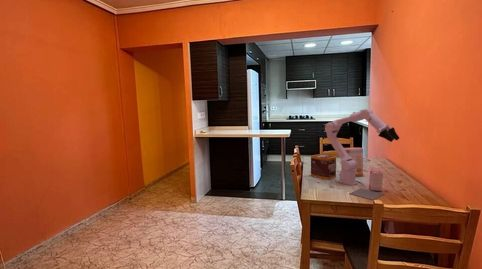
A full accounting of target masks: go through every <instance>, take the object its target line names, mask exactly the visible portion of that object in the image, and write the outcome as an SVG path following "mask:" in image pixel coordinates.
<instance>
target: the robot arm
mask: <svg viewBox="0 0 482 269" xmlns="http://www.w3.org/2000/svg"><path fill="white" fill-rule="evenodd" d="M363 120H366V122H367V123H369V125H370V126H372V127H373V128H374V129H375V130H376V132H377V134H378V135H377V137H381V138H383V139H385V140H386V141H388V142H390V143H391V142H393V141H394V140H395V141H398V140H399V139H400V136H399V135H398V134H397V132H396V129H395V128H394V127H391V126H390V124H388V123H387V124H386V123H385V122H384V121H382V120H381V119H380V118H379V117H378V116H377V115H375V113H374V111H373V110H372V109H367V108H366V109H361V110H359V111H357V112H356V111H352V113H351V114H349V116H345V117H342V118H339V119H334V120H332V121H330V122H328V123H326V124H325V126H324V130H325V132H326V137H327V140H328V141H329V143H330V145H331V146H332V148H333V149H334V150H335V152H336V153H337V155H338V157H339V158H340V164H341V170H340V171H339V183H340V184H345V185H348V186H354V185H357V184H359V182H357V181H356V176H355V170H356V168H357V166H358V164H357V162H356V161H355V160H354V159H353V158H352V157H350V156H349V155H348V154H347V152H346V151H345V149H344V148H345V147H344V146H343V145H342V143H341V142H340V141H339V139H338V137H337V135H338V133H339V131H340V129H341V127H342V126H343V124H345V123H348V122H352V123H357V122H359V121H363ZM342 168H343V169H342Z"/></svg>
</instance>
